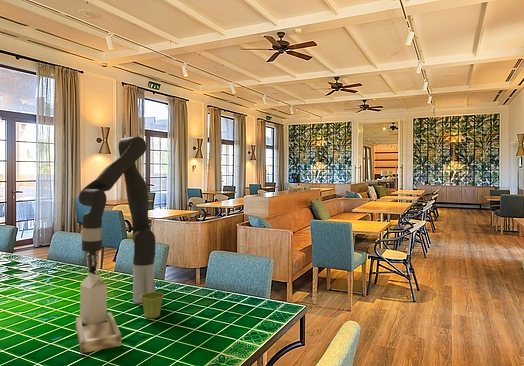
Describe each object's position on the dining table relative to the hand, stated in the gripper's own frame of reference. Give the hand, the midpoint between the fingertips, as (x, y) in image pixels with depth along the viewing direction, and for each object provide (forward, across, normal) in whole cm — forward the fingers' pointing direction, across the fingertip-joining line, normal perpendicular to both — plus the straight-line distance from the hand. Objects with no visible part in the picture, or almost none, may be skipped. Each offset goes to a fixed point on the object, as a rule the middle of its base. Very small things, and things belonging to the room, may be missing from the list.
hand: (91, 280), depth 156 cm
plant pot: (+15, -9, -22) cm, 28 cm away
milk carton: (+15, -5, 0) cm, 16 cm away
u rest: (+14, -20, 0) cm, 24 cm away
